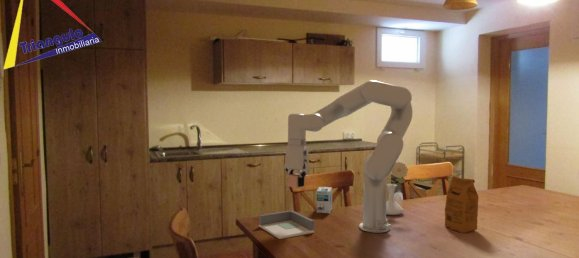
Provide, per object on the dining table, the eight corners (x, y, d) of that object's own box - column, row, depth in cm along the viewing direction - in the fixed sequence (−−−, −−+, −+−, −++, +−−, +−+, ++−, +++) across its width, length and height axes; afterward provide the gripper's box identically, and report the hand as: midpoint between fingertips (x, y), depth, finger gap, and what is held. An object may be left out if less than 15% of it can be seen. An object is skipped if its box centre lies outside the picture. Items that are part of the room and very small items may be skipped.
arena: (314, 232, 164) (314, 220, 164) (279, 239, 156) (279, 226, 156) (291, 221, 180) (291, 210, 179) (259, 226, 172) (259, 215, 171)
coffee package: (459, 223, 177) (460, 173, 175) (481, 232, 165) (482, 178, 163) (440, 225, 173) (441, 175, 172) (461, 234, 162) (462, 180, 160)
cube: (296, 188, 168) (296, 176, 168) (287, 186, 172) (288, 174, 172) (304, 186, 172) (304, 174, 172) (296, 184, 176) (296, 173, 175)
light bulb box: (330, 213, 192) (330, 191, 191) (316, 213, 193) (316, 190, 193) (332, 208, 202) (332, 186, 202) (318, 207, 204) (319, 186, 203)
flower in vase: (377, 215, 189) (377, 162, 188) (381, 209, 200) (381, 159, 198) (405, 218, 184) (406, 164, 183) (408, 212, 195) (409, 160, 193)
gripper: (317, 143, 167) (317, 187, 169) (288, 140, 179) (288, 181, 181) (305, 145, 162) (304, 189, 163) (276, 141, 174) (275, 183, 175)
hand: (296, 184), depth 172 cm, fingers closed on cube, 5 cm apart
